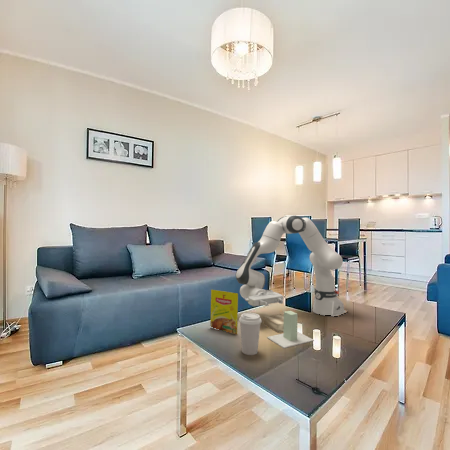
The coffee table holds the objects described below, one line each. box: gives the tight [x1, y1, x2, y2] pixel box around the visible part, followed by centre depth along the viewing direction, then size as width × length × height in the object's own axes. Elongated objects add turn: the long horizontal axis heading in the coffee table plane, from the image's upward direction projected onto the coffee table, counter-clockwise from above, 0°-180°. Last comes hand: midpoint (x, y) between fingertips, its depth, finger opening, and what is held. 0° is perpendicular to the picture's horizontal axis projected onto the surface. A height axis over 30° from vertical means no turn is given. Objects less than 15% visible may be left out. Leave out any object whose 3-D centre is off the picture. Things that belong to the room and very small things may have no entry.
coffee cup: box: [238, 312, 263, 356], centre depth 110 cm, size 10×10×15 cm
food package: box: [209, 289, 239, 335], centre depth 131 cm, size 15×1×20 cm, turn 62°
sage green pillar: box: [282, 310, 299, 341], centre depth 123 cm, size 4×5×12 cm
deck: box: [263, 313, 284, 333], centre depth 139 cm, size 12×12×4 cm
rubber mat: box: [266, 331, 315, 349], centre depth 123 cm, size 18×12×1 cm, turn 118°
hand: (274, 303), depth 134 cm, fingers open, 8 cm apart
